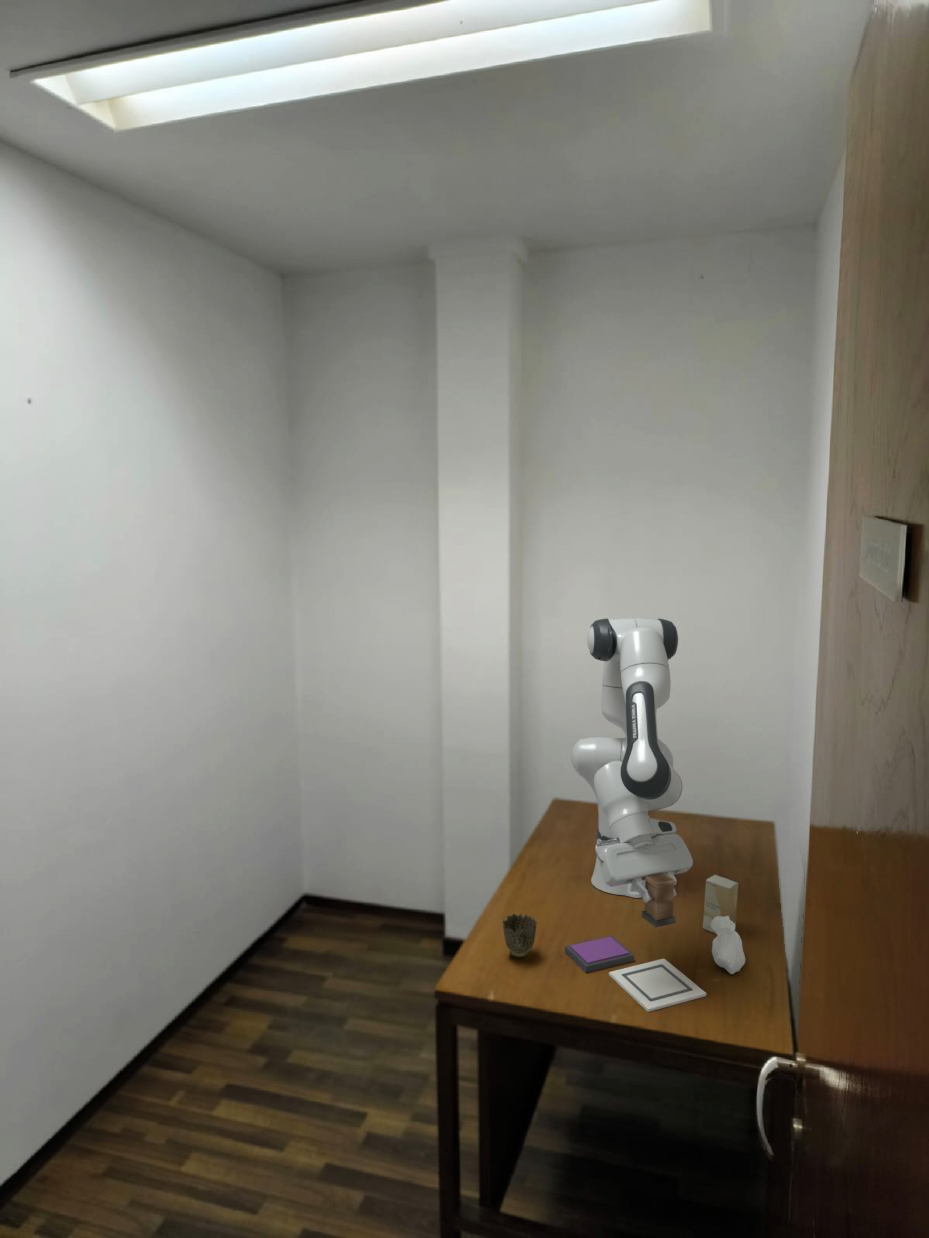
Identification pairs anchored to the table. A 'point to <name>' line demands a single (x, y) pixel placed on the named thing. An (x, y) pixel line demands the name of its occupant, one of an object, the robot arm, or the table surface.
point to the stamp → (659, 900)
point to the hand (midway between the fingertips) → (661, 898)
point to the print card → (656, 984)
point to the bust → (727, 945)
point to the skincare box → (719, 900)
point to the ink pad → (599, 953)
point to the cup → (519, 934)
